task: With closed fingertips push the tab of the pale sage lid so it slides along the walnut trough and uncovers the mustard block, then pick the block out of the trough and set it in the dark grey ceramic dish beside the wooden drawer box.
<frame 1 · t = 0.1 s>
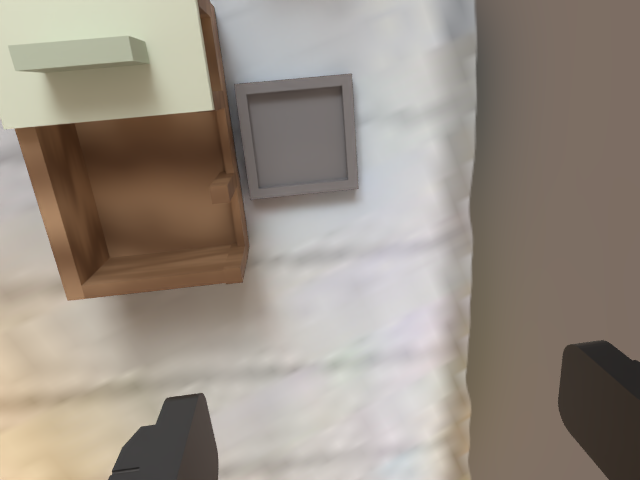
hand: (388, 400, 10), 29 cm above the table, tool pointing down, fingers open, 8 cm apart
wooden drawer box: (156, 144, 35), on the table
lid: (86, 55, 24), point 10 cm above the table, slide at 0.0 cm
dish: (298, 137, 36), on the table
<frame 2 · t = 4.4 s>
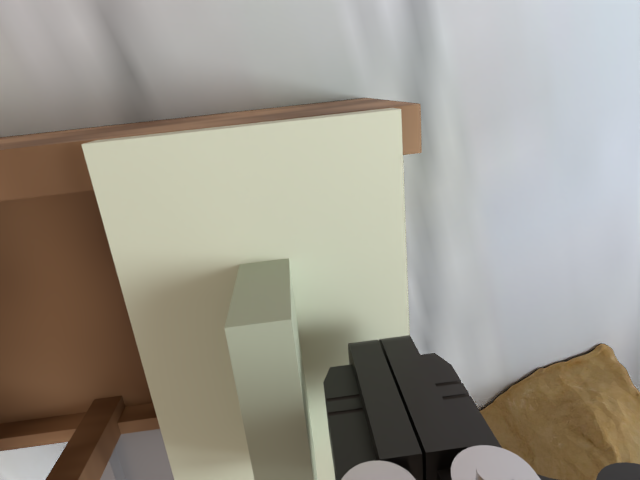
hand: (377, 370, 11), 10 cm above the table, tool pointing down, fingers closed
wooden drawer box: (164, 266, 20), on the table
rock: (510, 410, 24), on the table
lid: (280, 392, 11), point 10 cm above the table, slide at 0.8 cm, touching gripper
dish: (201, 466, 23), on the table
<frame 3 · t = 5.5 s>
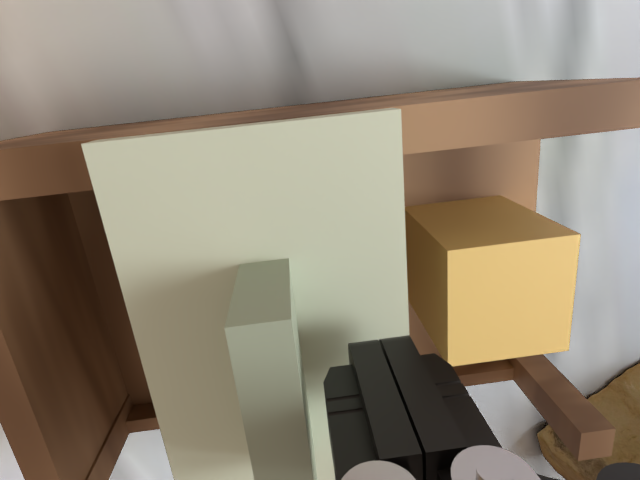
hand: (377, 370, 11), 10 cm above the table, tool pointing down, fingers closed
wooden drawer box: (305, 248, 20), on the table
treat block: (452, 247, 18), point 2 cm above the table, touching wooden drawer box
rock: (621, 394, 24), on the table
lid: (280, 392, 11), point 10 cm above the table, slide at 7.1 cm, touching gripper
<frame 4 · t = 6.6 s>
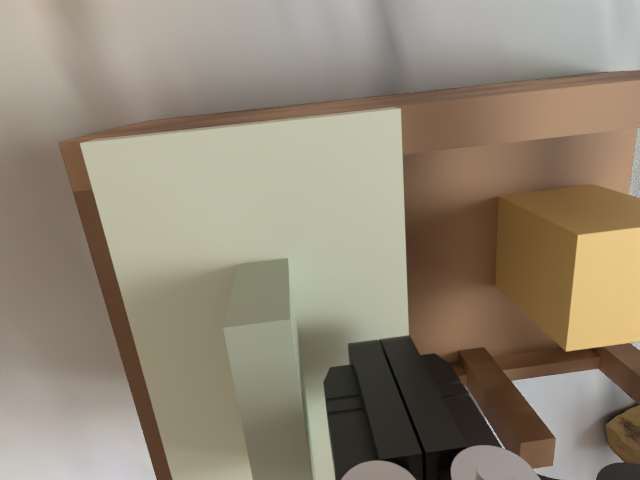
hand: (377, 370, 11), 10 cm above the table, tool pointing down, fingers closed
wooden drawer box: (390, 238, 20), on the table
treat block: (543, 236, 18), point 2 cm above the table, touching wooden drawer box
lid: (279, 392, 11), point 10 cm above the table, slide at 11.0 cm, touching gripper
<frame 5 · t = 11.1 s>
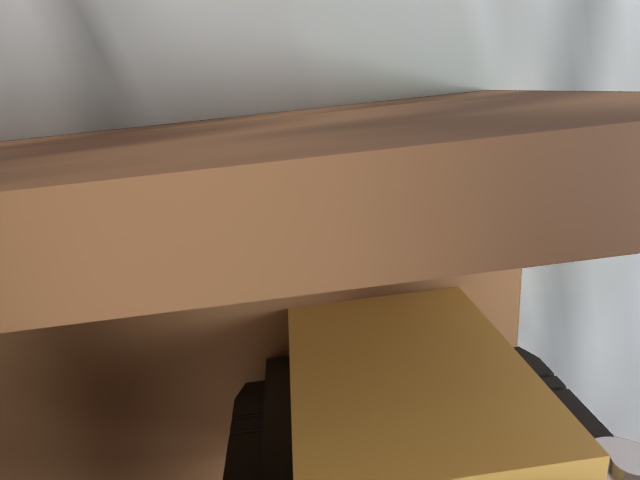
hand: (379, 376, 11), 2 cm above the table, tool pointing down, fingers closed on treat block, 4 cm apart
wooden drawer box: (154, 355, 12), on the table
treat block: (378, 369, 11), point 2 cm above the table, touching gripper, wooden drawer box
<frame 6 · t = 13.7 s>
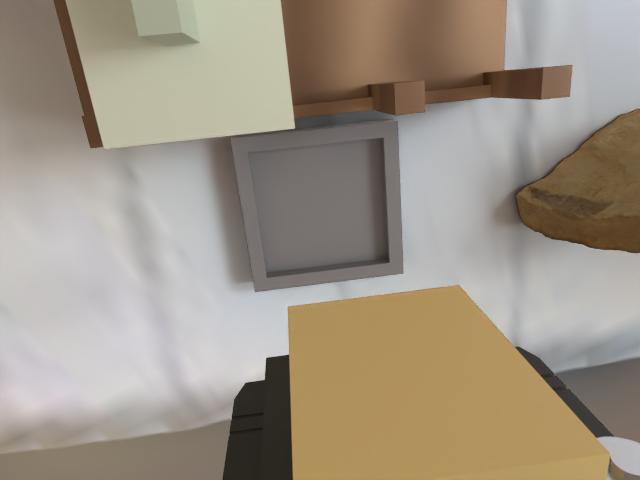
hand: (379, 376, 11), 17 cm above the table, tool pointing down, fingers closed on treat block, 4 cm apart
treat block: (378, 368, 11), point 16 cm above the table, touching gripper
rock: (592, 163, 27), on the table
dish: (320, 204, 26), on the table
when the fingers open (2 cm above the table, at t = 16.6 s): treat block drops 1 cm, resting on dish.
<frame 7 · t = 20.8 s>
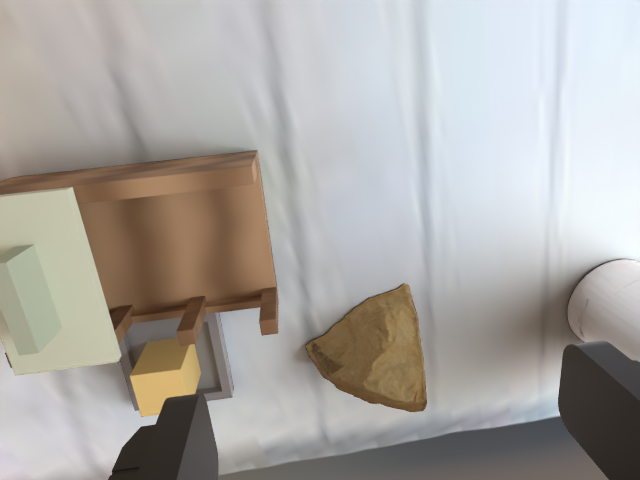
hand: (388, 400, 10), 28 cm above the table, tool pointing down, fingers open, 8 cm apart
wooden drawer box: (155, 237, 37), on the table
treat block: (174, 357, 40), point 1 cm above the table, touching dish
rock: (357, 324, 42), on the table
lid: (30, 296, 28), point 10 cm above the table, slide at 11.2 cm
dish: (177, 354, 41), on the table
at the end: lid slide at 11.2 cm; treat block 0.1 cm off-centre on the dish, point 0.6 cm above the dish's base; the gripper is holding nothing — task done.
